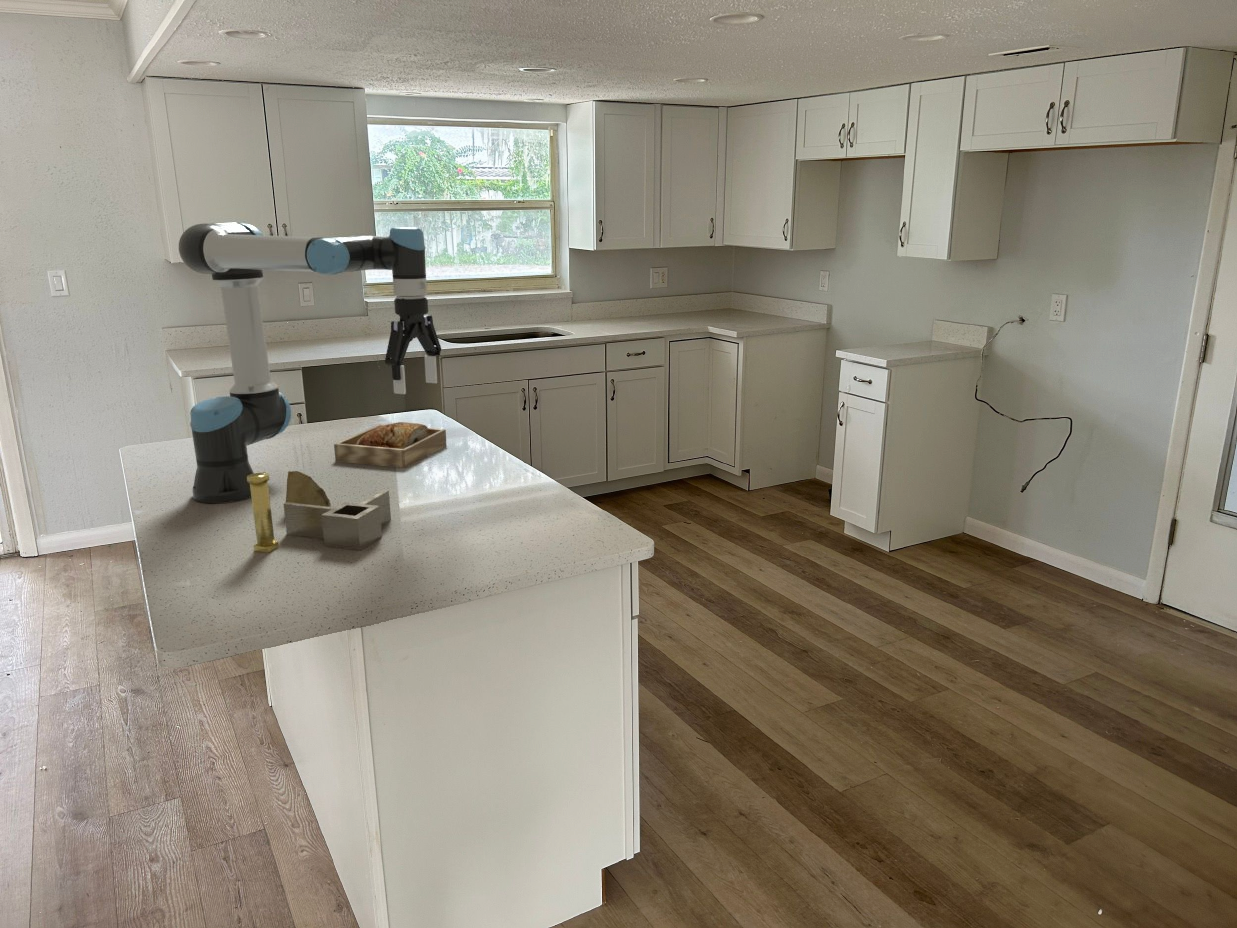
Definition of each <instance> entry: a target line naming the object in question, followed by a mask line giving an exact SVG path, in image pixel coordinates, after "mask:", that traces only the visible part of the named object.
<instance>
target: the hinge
mask: <svg viewBox="0 0 1237 928" xmlns="http://www.w3.org/2000/svg"><path fill="white" fill-rule="evenodd" d="M390 502H391V500H390V490H387V489H383V490H381V491H379V492H378V493H376V494H374V495H373V496H371V497H369V498H367V499H365V500H364V501H362V502H359V503H355V502H346V501H345V502H343V503H341V504H339V505H337V506H336V507H333V506H329V507H326V506H316V505H307V504H298V503H289V502H287V503H283V512H284V518H285V519H284V520H285V531H286V535H290V536H297V537H298V536H299V537H305V538H313V539H314V538H315V539H323V542H324V547H327V548H337V549H343V550H344V549H345V550H351V551H362V550H364V549H365V548H366V547H368V546H370V545H371V544H373V543H375V542H376V541H378V540H379V539H380V538H382V537H383V533H382V526H383V525H385V524H386V523H388V522H389V521H392V517H391V503H390Z"/></svg>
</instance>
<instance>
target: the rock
mask: <svg viewBox="0 0 1237 928" xmlns="http://www.w3.org/2000/svg"><path fill="white" fill-rule="evenodd" d="M287 502H289V503H298V504H307V505H316V506H326V507H332V505H331V501H330V499H329V497H328V495H327V493H326V491H325V490H324V489H323V488H322V487H320V486H319V484H318V483H317V482H316V481H315V480H314V479H313V478H312V476H309V475H308V474H305V473H302V472H301V471H298V470H292V471H291V470H289V471H287V480H286V495H285V503H287ZM285 503H284V504H285Z"/></svg>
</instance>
